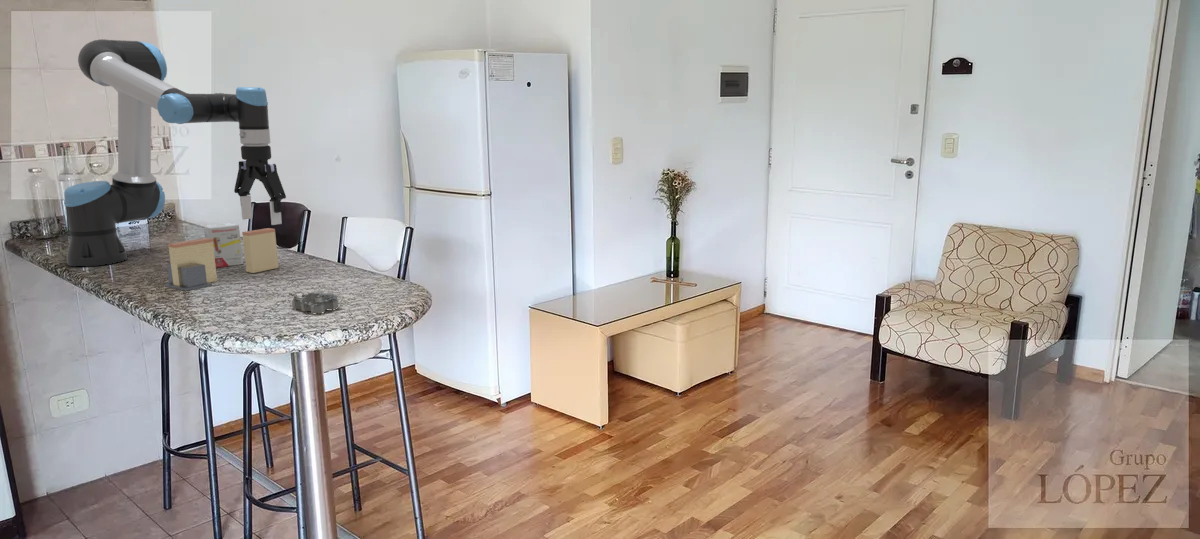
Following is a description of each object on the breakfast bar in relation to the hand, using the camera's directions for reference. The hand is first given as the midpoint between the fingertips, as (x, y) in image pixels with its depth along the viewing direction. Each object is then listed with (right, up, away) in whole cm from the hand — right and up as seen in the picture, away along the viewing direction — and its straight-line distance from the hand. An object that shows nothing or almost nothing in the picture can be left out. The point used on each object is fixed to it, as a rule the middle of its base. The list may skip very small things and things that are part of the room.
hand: (261, 221), depth 219 cm
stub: (0, -14, +1) cm, 14 cm away
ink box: (-14, -12, +9) cm, 21 cm away
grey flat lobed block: (+29, -23, -38) cm, 53 cm away
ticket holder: (-11, -17, -14) cm, 25 cm away
